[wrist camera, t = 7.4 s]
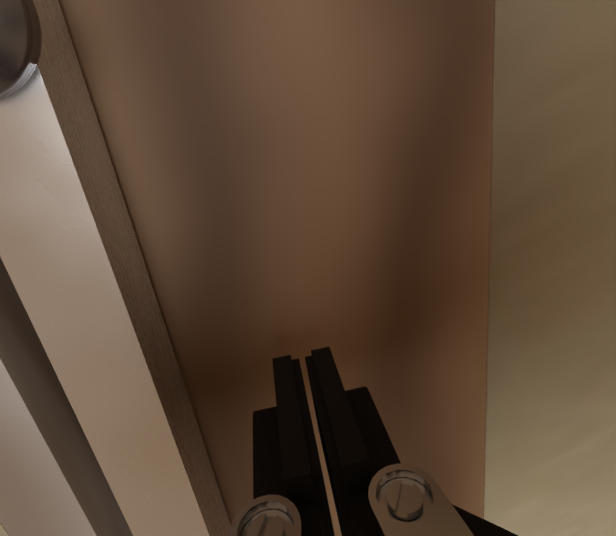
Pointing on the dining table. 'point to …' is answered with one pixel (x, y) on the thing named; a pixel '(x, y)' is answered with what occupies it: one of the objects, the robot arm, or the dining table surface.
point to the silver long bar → (93, 283)
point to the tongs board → (282, 232)
